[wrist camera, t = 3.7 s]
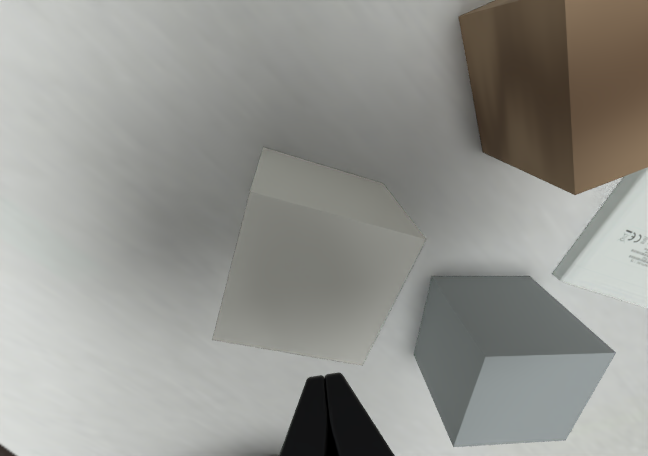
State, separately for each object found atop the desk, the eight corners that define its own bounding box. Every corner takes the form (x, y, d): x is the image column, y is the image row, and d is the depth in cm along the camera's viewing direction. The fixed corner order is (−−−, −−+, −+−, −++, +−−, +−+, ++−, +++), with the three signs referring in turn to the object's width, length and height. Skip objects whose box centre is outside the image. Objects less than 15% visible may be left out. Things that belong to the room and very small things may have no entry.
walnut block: (604, 102, 16) (764, 122, 11) (481, 151, 17) (575, 195, 11) (603, -48, 13) (815, -122, 8) (457, 16, 14) (564, -12, 9)
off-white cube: (342, 280, 19) (362, 366, 14) (235, 256, 18) (211, 340, 12) (383, 182, 17) (427, 239, 11) (263, 145, 15) (248, 191, 10)
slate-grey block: (500, 351, 23) (565, 440, 17) (413, 353, 22) (453, 447, 17) (528, 275, 20) (615, 352, 15) (431, 275, 19) (485, 356, 14)
